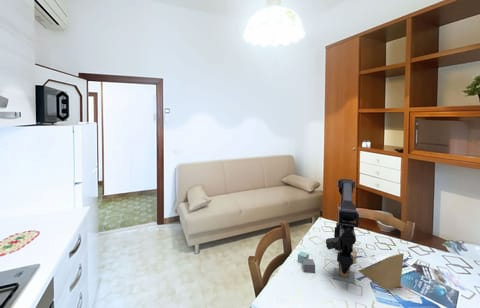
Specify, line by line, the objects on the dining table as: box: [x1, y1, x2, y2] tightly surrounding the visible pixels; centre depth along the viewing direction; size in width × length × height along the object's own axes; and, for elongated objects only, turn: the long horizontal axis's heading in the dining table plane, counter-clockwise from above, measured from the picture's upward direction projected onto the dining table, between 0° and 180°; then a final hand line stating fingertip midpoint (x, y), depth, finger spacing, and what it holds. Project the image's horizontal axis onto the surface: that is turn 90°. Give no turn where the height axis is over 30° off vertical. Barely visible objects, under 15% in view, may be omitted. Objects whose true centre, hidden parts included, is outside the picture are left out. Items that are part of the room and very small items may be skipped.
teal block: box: [297, 250, 310, 264], centre depth 125 cm, size 4×4×4 cm
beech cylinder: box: [351, 249, 357, 264], centre depth 126 cm, size 4×4×5 cm
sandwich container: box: [358, 252, 405, 291], centre depth 111 cm, size 9×15×15 cm, turn 21°
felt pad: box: [332, 267, 356, 285], centre depth 113 cm, size 9×9×1 cm
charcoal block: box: [301, 258, 316, 274], centre depth 118 cm, size 5×5×4 cm
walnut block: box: [338, 262, 351, 278], centre depth 113 cm, size 4×4×5 cm
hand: (344, 268), depth 113 cm, fingers open, 9 cm apart
